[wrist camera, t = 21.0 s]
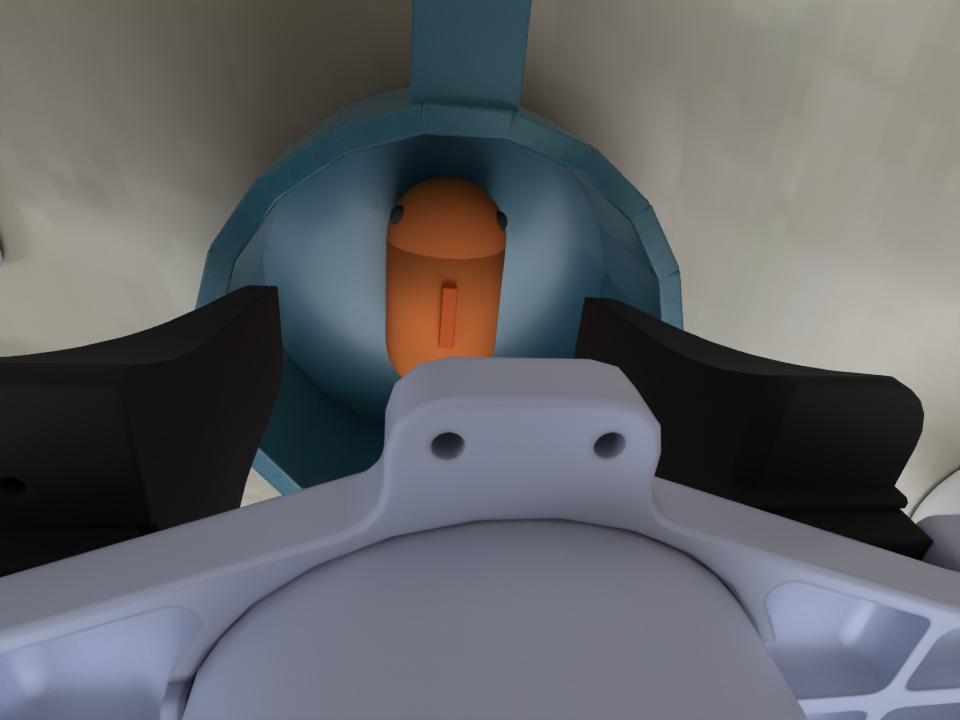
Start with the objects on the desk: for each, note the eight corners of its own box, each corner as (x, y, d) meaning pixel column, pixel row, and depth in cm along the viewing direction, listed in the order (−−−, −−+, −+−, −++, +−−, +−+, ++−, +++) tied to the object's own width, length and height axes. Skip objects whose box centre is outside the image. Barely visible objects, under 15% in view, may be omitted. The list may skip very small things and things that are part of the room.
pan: (271, 488, 23) (237, 607, 18) (213, -54, 15) (123, -96, 10) (572, 485, 25) (612, 593, 20) (674, -2, 16) (785, -15, 12)
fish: (480, 394, 22) (493, 458, 18) (385, 393, 21) (382, 458, 18) (502, 169, 18) (525, 199, 14) (388, 161, 17) (385, 191, 14)
